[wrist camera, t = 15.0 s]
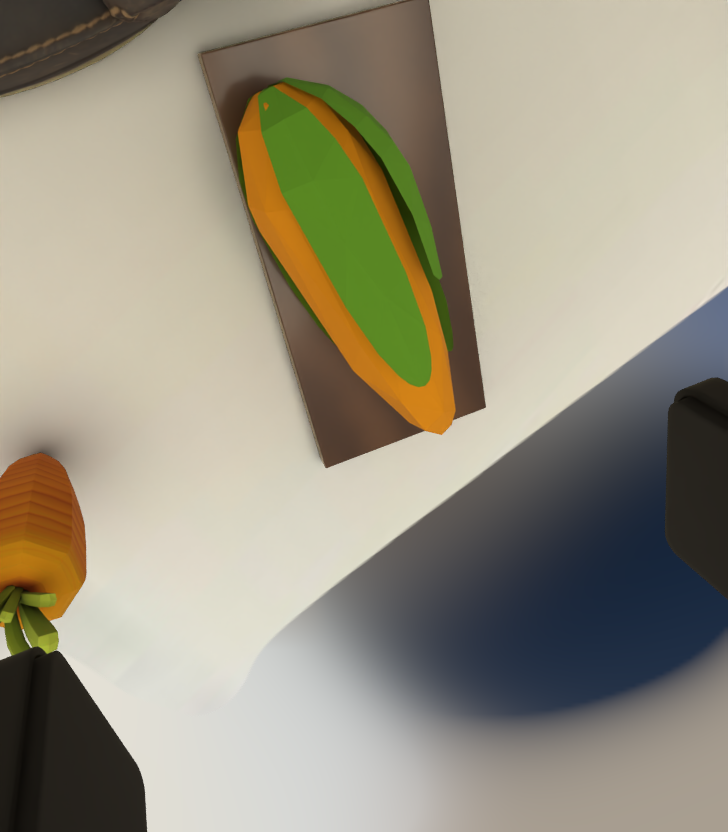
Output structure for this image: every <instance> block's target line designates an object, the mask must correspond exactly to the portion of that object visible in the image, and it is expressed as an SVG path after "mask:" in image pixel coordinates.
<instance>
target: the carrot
mask: <svg viewBox="0 0 728 832" xmlns="http://www.w3.org/2000/svg"><path fill="white" fill-rule="evenodd" d="M85 578H86V540H85V525H84V521H83V517H82V513H81V510H80V506H79V503H78V500H77V497H76V495H75V492H74V489H73V487H72V484H71V482H70V480H69V477H68V475H67V472H66V470H65V468H64V467H63V466H62V465H61V464H60V462H59V461H57V460H55V459H54V458H52V457H50V456H48V455H46V454H43V453H37V454H33V455H30V456H27V457H24V458H21V459H19V460H17V461H16V462H14V463H13V464H11V465H10V466H9V467H8V468H7V470H6V471H5V472H4V474H3V475H2V476H1V478H0V627H4V628H5V635H6V641H7V646H8V649H9V651H10V653H11V655H15V654H17V653H20V652H23V651H25V650H28V649H30V647H29V645H28V643H27V642H26V640H25V637H24V634H23V632H22V629H24V631H25V634H26V636H27V638H28V640H29V642H30V644H31V646H32V647H37V646H38V647H40V648H42V649H43V650H44V651H45V652H46V653H47V654H48V653H50V652H52V651H54V650H56V649H57V647H58V642H59V639H58V632H57V630H56V629H55V627H54V626H53V625H52V624H51V622H50V621H51V620H54V619H57V618H60V617H62V615H63V614H64V612H65V611H66V609H67V608H68V606H69V605H70V603H71V602H72V600H73V599H74V597H75V596H76V594H77V593H78V591H79V590H80V588H81V587H82V585H83V583H84V581H85Z"/></svg>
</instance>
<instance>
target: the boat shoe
mask: <svg viewBox="0 0 728 832" xmlns="http://www.w3.org/2000/svg"><path fill="white" fill-rule="evenodd" d="M180 1H181V0H0V97H5V96H9V95H12V94H16V93H19V92H22V91H26V90H29V89H32V88H35V87H38V86H41V85H44V84H47V83H49V82H52V81H55V80H58V79H60V78H63V77H65V76H67V75H70V74H72V73H74V72H76V71H79V70H81V69H83V68H85V67H87V66H89V65H92V64H94V63H96V62H98V61H100V60H102V59H103V58H105V57H107V56H108V55H110V54H112V53H113V52H115V51H116V50H118V49H119V48H121V47H122V46H124V45H126V44H127V43H129V42H130V41H132V40H133V39H134V38H136V37H137V36H138V35H140V34H141V33H142V32H143V31H145V30H146V29H147V28H148V27H149V26H150V25H151V24H152V23H154V22H155V21H156V20H157V19H158V18H159V17H161V16H163V15H165V14H166V13H168V12H169V11H170V10H171V9H173V8H174V7H175V6H176V5H177V4H178V3H179V2H180Z"/></svg>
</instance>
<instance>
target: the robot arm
mask: <svg viewBox="0 0 728 832" xmlns="http://www.w3.org/2000/svg"><path fill="white" fill-rule="evenodd" d="M667 438H668V439H667V475H666V477H667V478H666V514H665V536H666V539H667V542H668V544H669V546H670V547H671V549H672V550H673V552H674V553H675V554H676V555H677V556H678V557H679V558H681V559H682V560H683V561H684V562H685V563H686V564H687V565H689V566H690V567H691V568H692V569H693V570H694V571H696V572H697V573H698V574H699V575H700V576H701V577H703V578H704V579H705V580H706V581H707V582H708V583H709V584H711V585H712V586H713V587H714V588H715V589H716V590H717V591H719V592H720V593H721V594H722V595H723V596H724V597H725V598H727V599H728V382H727V381H725V380H723V379H720V378H710V379H707V380H705V381H702V382H700V383H697V384H695V385H692V386H690V387H687V388H685V389H682V390H680V391H679V392H678V393H677V394H676V396H675V399H674V403H673V404H672V405H671V406H670V407H669V411H668V437H667ZM0 832H147V822H146V803H145V789H144V784H143V779H142V776H141V773H140V771H139V768H138V766H137V764H136V762H135V761H134V759H133V758H132V756H131V755H130V753H129V752H128V751H127V749H126V748H125V746H124V745H123V743H122V742H121V740H120V739H119V737H118V736H117V735H116V733H115V732H114V730H113V729H112V727H111V726H110V724H109V723H108V721H107V720H106V718H105V717H104V715H103V714H102V712H101V711H100V709H99V708H98V706H97V705H96V703H95V702H94V700H93V699H92V698H91V696H90V695H89V693H88V692H87V690H86V689H85V687H84V686H83V684H82V683H81V682H80V680H79V678H78V677H77V675H76V674H75V673H74V671H73V670H72V668H71V667H70V665H69V664H68V662H67V661H66V659H65V658H64V657H63V655H62V654H61V653H60V652H59V651H53V652H50V653H48V654H47V653H46V652H45V651H44V650H43V649H42V648H40V647H38V646H37V647H33V648H30V649H28V650H25V651H23V652H20V653H17V654H15V655H12V656H10V657H7V658H5V659H2V660H0Z"/></svg>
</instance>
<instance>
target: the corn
mask: <svg viewBox="0 0 728 832" xmlns="http://www.w3.org/2000/svg"><path fill="white" fill-rule="evenodd" d="M282 81H283V82H282ZM236 148H237V161H238V173H239V182H240V185H241V188H242V191H243V194H244V197H245V200H246V203H247V206H248V209H249V212H250V215H251V218H252V220H253V222H254V224H255V225H256V227H257V229H258V231H259V233H260V234H261V236H262V238H263V240H264V242H265V243H266V245H267V247H268V249H269V250H270V252H271V254H272V256H273V258H274V259H275V261H276V263H277V265H278V267H279V268H280V270H281V272H282V274H283V276H284V277H285V279H286V281H287V283H288V284H289V286H290V287H291V289H292V290H293V292H294V293H295V294H296V296H297V297H298V299H299V300H300V302H301V303H302V304H303V306H304V307H305V309H306V310H307V311H308V313H309V314H310V316H311V317H312V319H313V320H314V321H315V323H316V324H317V326H318V327H319V328H320V329H321V330H322V331H323V332H324V333H325V335H326V336H327V337H328V338H329V339H330V340H331V341H332V342H333V343H334V344H336V346H337V347H338V349H339V350H340V352H341V353H342V355H343V356H344V358H345V359H346V361H347V362H348V364H349V365H350V367H351V368H352V370H353V371H354V372H355V373H356V374H357V375H358V376H359V377H360V378H361V379H363V380H364V381H365V382H366V383H367V384H368V385H369V386H370V387H371V388H372V389H373V390H374V391H376V392H377V393H378V394H379V395H380V396H381V397H382V398H383V399H384V400H385V401H386V402H387V403H389V404H390V405H391V406H392V407H393V408H394V409H395V410H396V411H397V412H398V413H399V414H400V415H402V416H403V417H404V418H405V419H406V420H407V421H408V422H409V423H411V424H413V425H415V426H417V427H419V428H421V429H423V430H425V431H428V432H432V433H436V434H440V435H442V434H443V433H444V432H445V431H446V430H447V429H448V428H449V427H450V426H451V424H452V421H453V418H454V414H455V411H456V410H455V402H454V395H453V387H452V380H451V372H450V364H449V357H448V351H452V349H453V333H452V327H451V322H450V316H449V311H448V306H447V301H446V298H445V295H444V292H443V289H442V287H441V284H440V281H439V280H440V279H441V277H442V272H441V268H440V263H439V259H438V254H437V250H436V245H435V241H434V236H433V232H432V227H431V224H430V221H429V218H428V216H427V213H426V210H425V207H424V204H423V201H422V199H421V196H420V193H419V190H418V187H417V185H416V182H415V179H414V176H413V173H412V170H411V168H410V166H409V164H408V162H407V161H406V159H405V158H404V156H403V155H402V153H401V152H400V150H399V149H398V147H397V146H396V144H395V143H394V141H393V140H392V138H391V137H390V135H389V133H388V132H387V130H386V129H385V128H384V127H383V126H382V125H381V124H380V123H379V122H378V121H377V120H376V119H375V118H374V117H373V116H372V115H371V114H370V113H369V112H368V111H367V109H366V108H365V107H364V106H363V105H361V104H360V103H358V102H356V101H355V100H353V99H351V98H350V97H348V96H346V95H345V94H343V93H341V92H340V91H338V90H336V89H334V88H333V87H331V86H329V85H326V84H320V83H315V82H309V81H304V80H299V79H293V78H288V77H286V78H284V79H282V80H280V81H277V83H274V84H271V85H268V88H265V89H263V90H262V91H260V92H257V93H255V94H254V95H253V96H251V97H250V98H249V99H248V101H247V104H246V108H245V111H244V114H243V117H242V120H241V123H240V127H239V130H238V133H237V136H236Z"/></svg>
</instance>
